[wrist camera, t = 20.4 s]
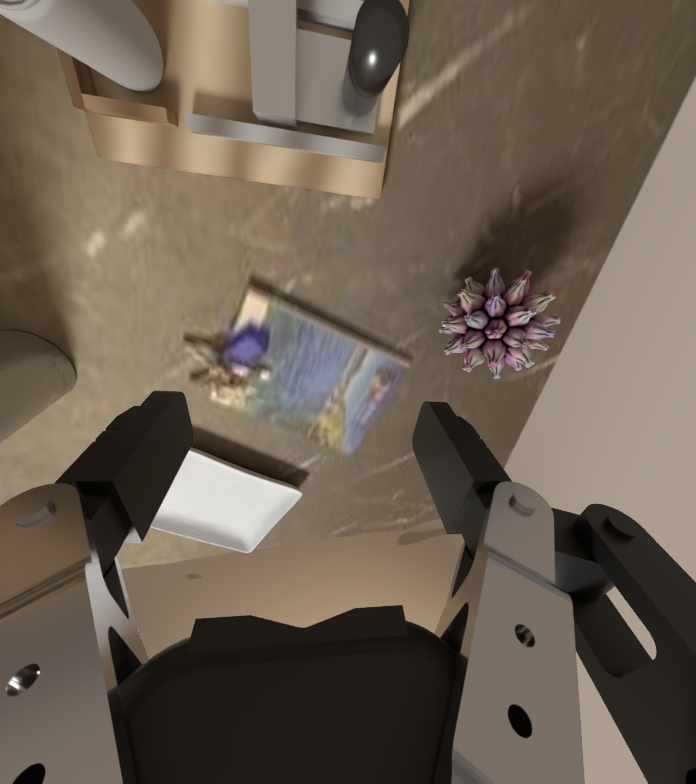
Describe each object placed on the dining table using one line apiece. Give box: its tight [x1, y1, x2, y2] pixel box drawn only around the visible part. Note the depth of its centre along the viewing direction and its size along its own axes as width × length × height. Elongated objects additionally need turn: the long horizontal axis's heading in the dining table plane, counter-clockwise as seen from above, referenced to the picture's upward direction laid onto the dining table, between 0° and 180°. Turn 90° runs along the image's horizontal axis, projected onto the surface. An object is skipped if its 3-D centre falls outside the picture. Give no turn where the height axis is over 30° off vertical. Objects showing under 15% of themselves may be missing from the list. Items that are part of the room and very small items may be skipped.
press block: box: [248, 0, 409, 136], centre depth 19 cm, size 10×6×10 cm, turn 83°
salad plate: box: [150, 448, 302, 553], centre depth 51 cm, size 21×21×3 cm
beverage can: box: [0, 0, 164, 93], centre depth 17 cm, size 5×5×12 cm
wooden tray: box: [57, 0, 409, 199], centre depth 23 cm, size 25×14×4 cm, turn 83°
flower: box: [439, 267, 561, 380], centre depth 32 cm, size 12×12×12 cm
